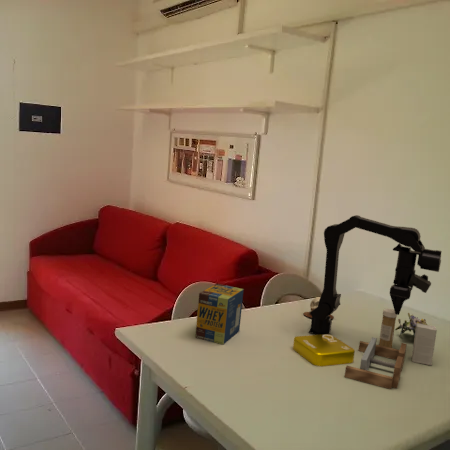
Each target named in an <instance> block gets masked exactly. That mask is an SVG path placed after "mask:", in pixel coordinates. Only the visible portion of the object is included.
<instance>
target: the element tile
mask: <svg viewBox="0 0 450 450" xmlns="http://www.w3.org/2000/svg"><path fill="white" fill-rule="evenodd" d="M292 350H293V351H294V352H296V353H298V355H300V356H301V357H302V358H304V359H305V360H306V361H307V362H309V363H310V364H311V365H313V366H316V367H328V366H337V365H347V364H353V363H354V359H355V352H356V350H355V348H353V347H351V346H350V345H348V344H346V343H345V342H344V341H342V340H340V339H339V338H337V337H335V336H334V335H332V334H330V333H329V334H321V335H317V334H310V335H298V336H297V335H296V336H294V337H293V345H292Z"/></svg>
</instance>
